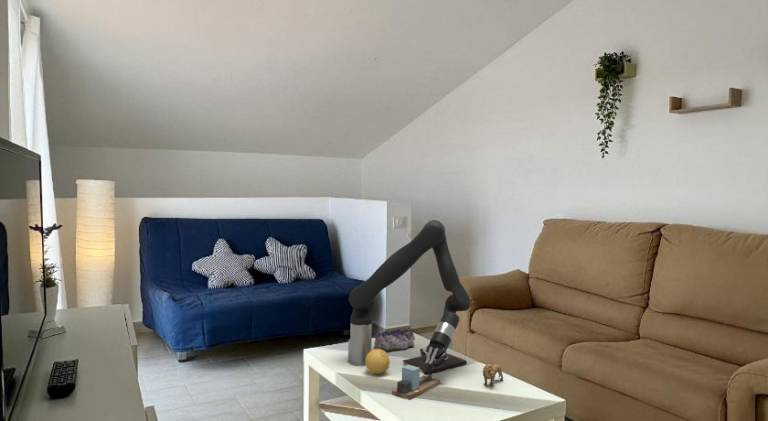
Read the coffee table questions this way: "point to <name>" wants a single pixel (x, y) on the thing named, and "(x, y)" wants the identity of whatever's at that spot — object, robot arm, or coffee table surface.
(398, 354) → the coffee table surface
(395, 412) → the coffee table surface
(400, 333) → the geode
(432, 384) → the rail
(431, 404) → the coffee table surface
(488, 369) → the lion figurine
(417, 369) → the pale blue squarish block
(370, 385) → the coffee table surface
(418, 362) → the hardcover book
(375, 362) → the stress ball
